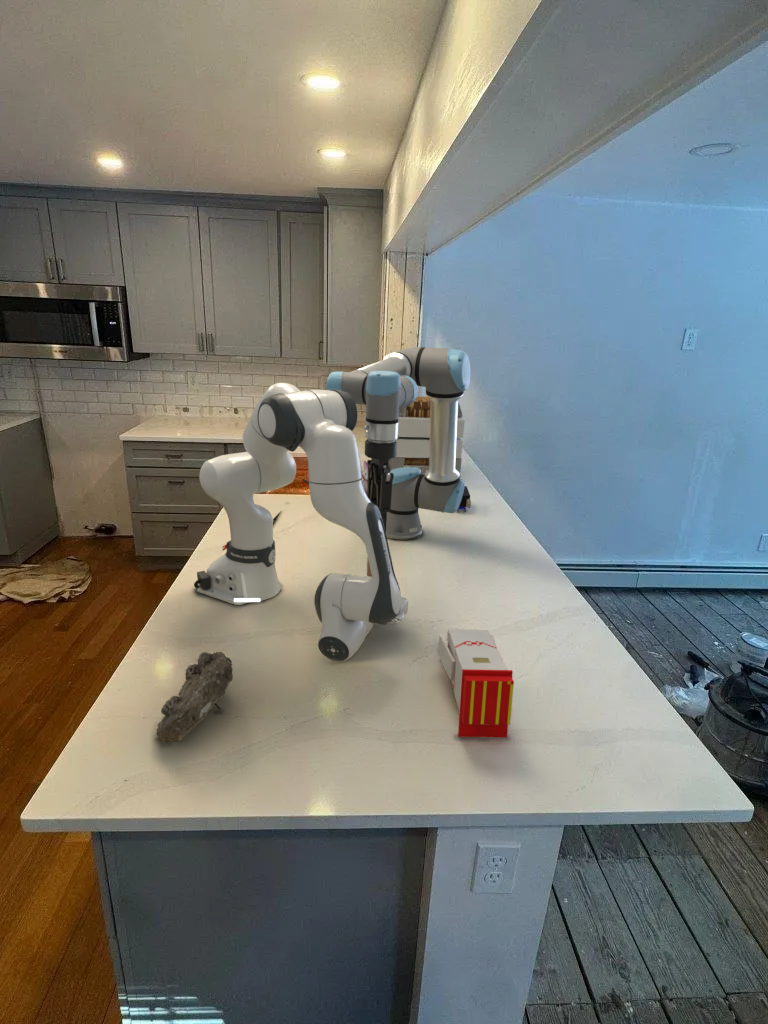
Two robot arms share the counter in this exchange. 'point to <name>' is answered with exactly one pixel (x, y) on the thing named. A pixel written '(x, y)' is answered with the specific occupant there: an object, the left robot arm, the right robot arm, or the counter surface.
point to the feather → (275, 518)
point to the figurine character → (465, 500)
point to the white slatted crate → (420, 436)
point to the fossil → (195, 695)
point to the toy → (478, 682)
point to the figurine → (365, 476)
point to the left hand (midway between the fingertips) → (375, 588)
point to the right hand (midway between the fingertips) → (377, 532)
